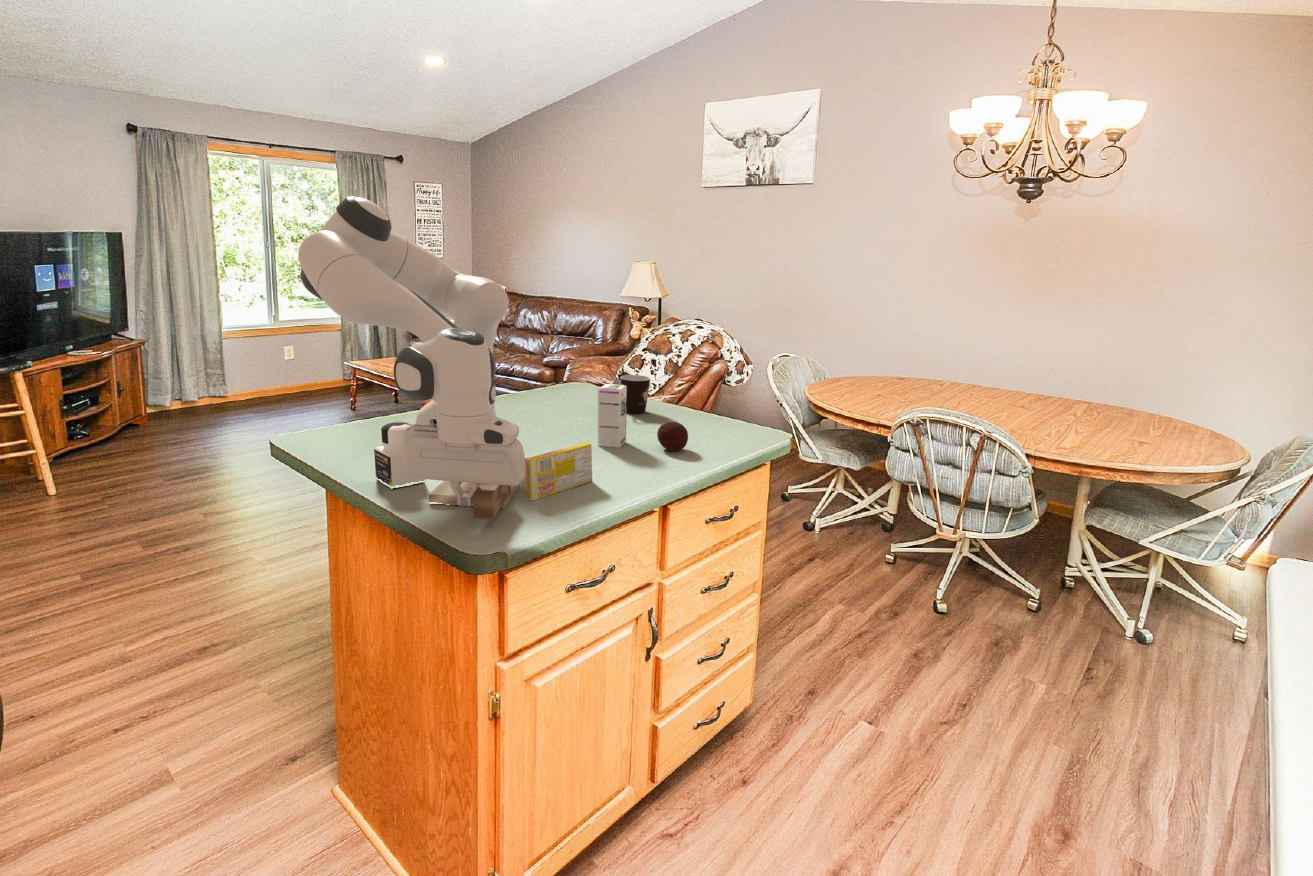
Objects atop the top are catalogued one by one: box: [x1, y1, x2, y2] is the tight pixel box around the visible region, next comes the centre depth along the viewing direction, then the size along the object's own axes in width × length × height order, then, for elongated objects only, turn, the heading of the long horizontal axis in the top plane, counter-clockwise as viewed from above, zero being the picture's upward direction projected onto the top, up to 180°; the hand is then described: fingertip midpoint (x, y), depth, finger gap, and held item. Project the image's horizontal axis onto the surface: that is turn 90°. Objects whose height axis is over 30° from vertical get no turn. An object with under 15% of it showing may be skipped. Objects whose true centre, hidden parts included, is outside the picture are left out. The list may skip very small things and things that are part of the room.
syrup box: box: [597, 383, 627, 449], centre depth 177 cm, size 6×6×14 cm
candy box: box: [525, 442, 593, 501], centre depth 145 cm, size 16×2×8 cm, turn 139°
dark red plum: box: [656, 421, 689, 452], centre depth 176 cm, size 7×8×7 cm
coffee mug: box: [620, 374, 651, 415], centre depth 211 cm, size 12×9×10 cm
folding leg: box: [472, 483, 511, 520], centre depth 131 cm, size 14×4×4 cm, turn 178°
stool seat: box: [428, 480, 521, 510], centre depth 141 cm, size 14×12×2 cm
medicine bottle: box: [373, 421, 426, 486], centre depth 145 cm, size 7×7×12 cm
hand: (465, 504), depth 126 cm, fingers closed
